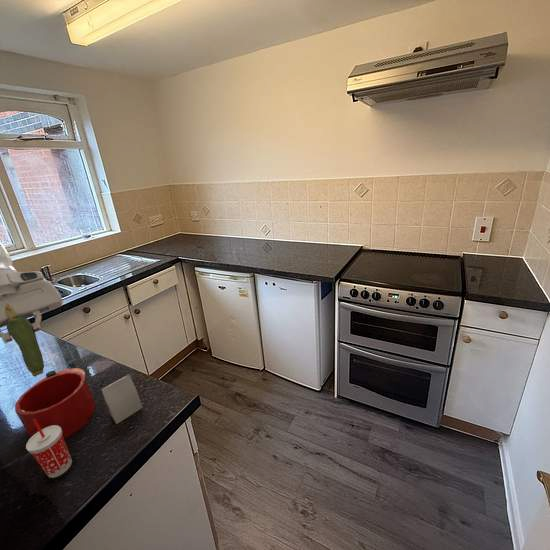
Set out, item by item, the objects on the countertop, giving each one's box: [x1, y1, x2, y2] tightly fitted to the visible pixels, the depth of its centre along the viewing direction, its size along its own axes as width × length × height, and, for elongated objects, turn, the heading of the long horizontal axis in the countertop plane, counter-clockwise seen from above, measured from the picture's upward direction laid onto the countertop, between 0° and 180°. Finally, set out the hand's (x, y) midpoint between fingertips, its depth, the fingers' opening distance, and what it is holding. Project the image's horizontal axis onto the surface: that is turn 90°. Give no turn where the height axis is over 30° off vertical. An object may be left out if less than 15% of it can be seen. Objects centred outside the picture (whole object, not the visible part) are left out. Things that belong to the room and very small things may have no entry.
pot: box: [14, 371, 97, 439], centre depth 77 cm, size 15×15×10 cm
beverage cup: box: [25, 419, 73, 479], centre depth 63 cm, size 6×6×14 cm
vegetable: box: [5, 304, 45, 377], centre depth 72 cm, size 4×4×20 cm
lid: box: [34, 367, 87, 385], centre depth 90 cm, size 16×16×6 cm
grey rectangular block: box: [101, 374, 144, 425], centre depth 77 cm, size 4×7×10 cm, turn 135°
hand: (23, 335), depth 71 cm, fingers closed on vegetable, 4 cm apart
